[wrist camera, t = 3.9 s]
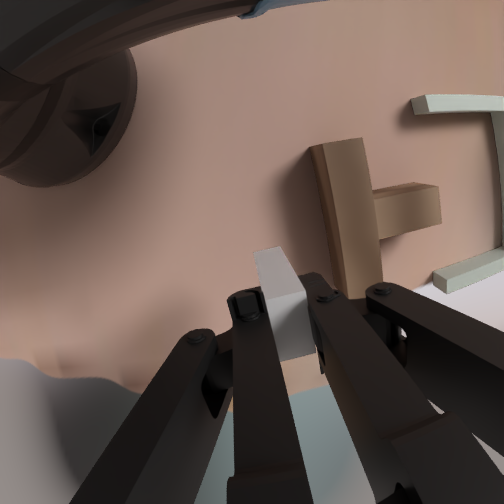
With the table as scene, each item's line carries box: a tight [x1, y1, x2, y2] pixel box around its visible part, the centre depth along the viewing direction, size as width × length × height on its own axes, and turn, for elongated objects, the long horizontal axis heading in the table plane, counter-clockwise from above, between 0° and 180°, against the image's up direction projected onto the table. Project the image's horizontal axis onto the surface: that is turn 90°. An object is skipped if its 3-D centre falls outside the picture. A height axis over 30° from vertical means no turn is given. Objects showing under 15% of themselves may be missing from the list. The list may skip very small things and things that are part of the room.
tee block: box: [309, 138, 442, 299], centre depth 23 cm, size 9×12×4 cm
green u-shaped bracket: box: [411, 94, 504, 294], centre depth 24 cm, size 12×18×2 cm
